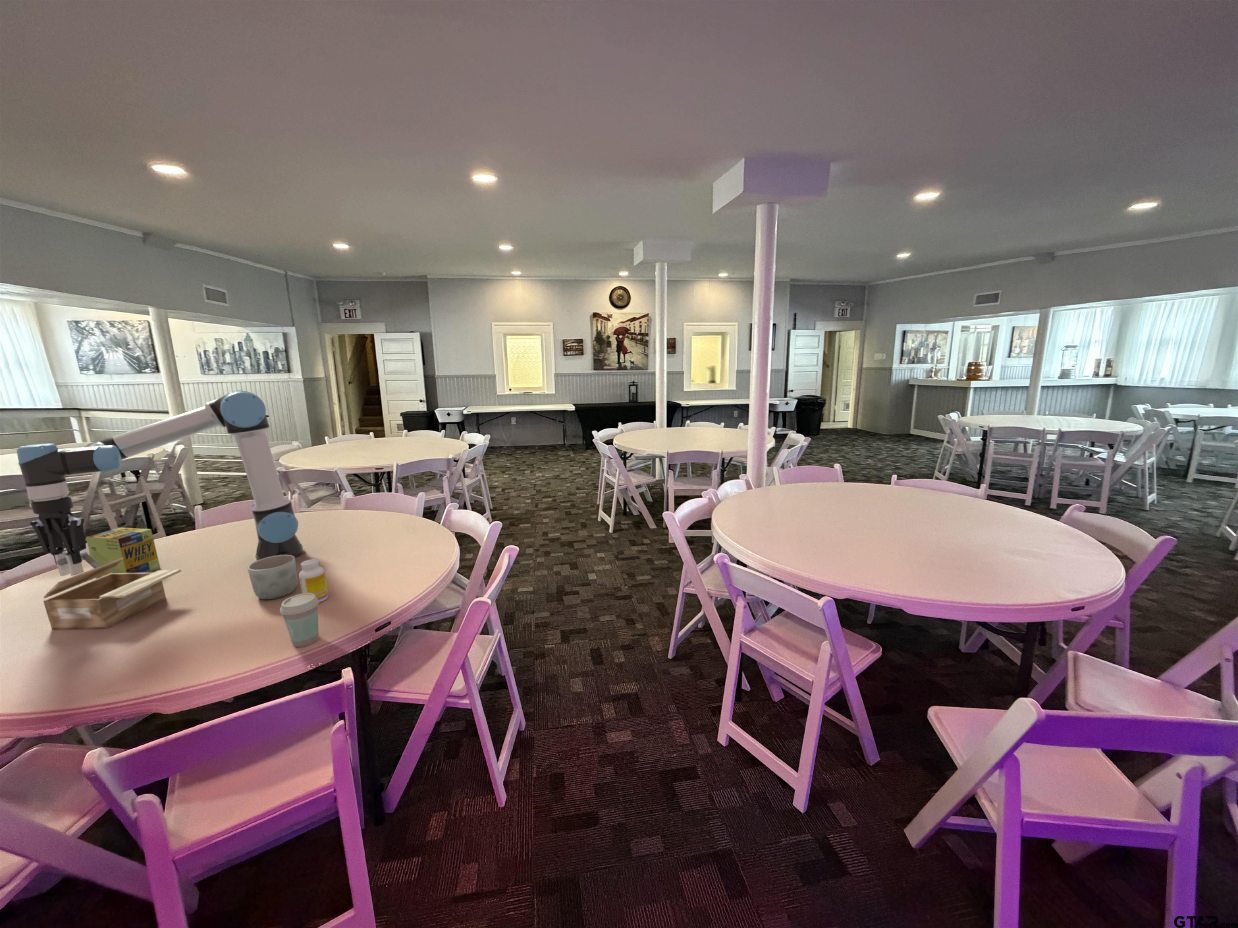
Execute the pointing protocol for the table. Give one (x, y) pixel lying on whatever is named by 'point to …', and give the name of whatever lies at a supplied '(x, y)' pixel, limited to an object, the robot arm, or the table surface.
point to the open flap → (82, 574)
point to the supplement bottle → (313, 579)
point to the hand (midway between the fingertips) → (72, 573)
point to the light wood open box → (106, 600)
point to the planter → (273, 576)
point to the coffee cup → (301, 618)
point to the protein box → (125, 550)
